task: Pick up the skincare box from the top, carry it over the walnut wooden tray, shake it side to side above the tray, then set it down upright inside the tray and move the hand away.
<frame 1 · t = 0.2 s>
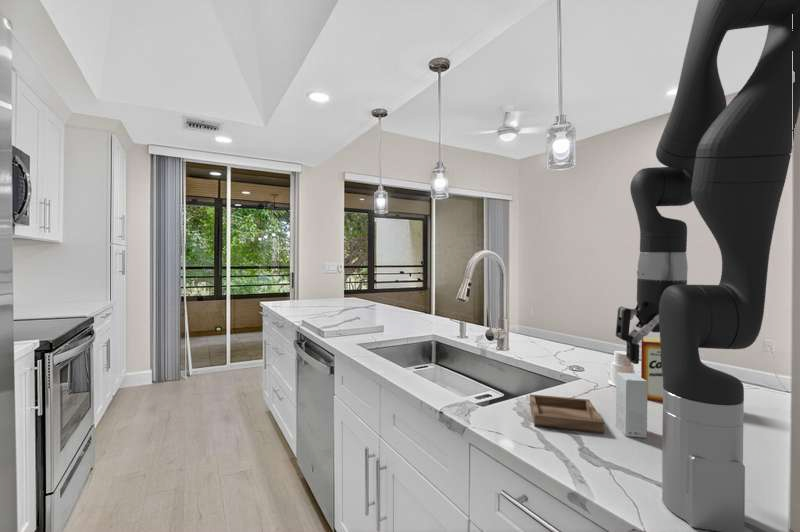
hand: (658, 363, 70), 18 cm above the worktop, tool pointing down, fingers open, 8 cm apart
tray: (563, 417, 89), on the worktop
downlight: (621, 385, 113), on the worktop
skincare box: (630, 432, 81), on the worktop
baking soda box: (661, 399, 102), on the worktop
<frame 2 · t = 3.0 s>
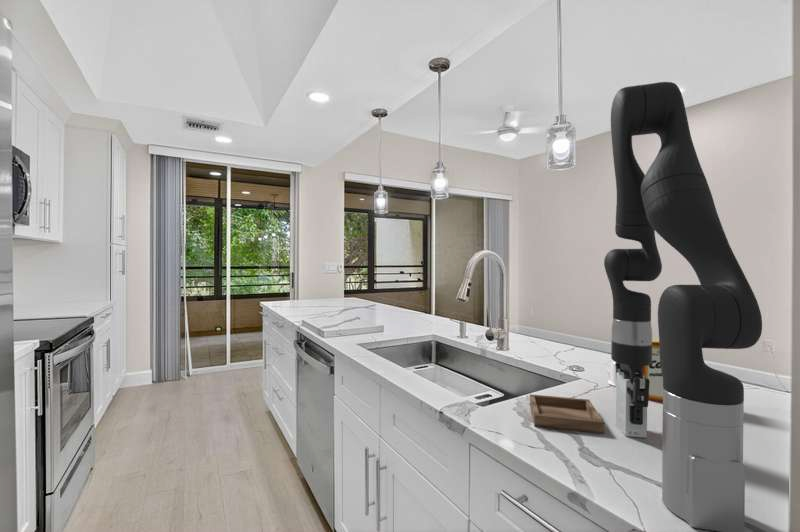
hand: (630, 417, 81), 3 cm above the worktop, tool pointing down, fingers closed on skincare box, 6 cm apart
skincare box: (630, 432, 81), on the worktop, touching gripper
everything else where it was.
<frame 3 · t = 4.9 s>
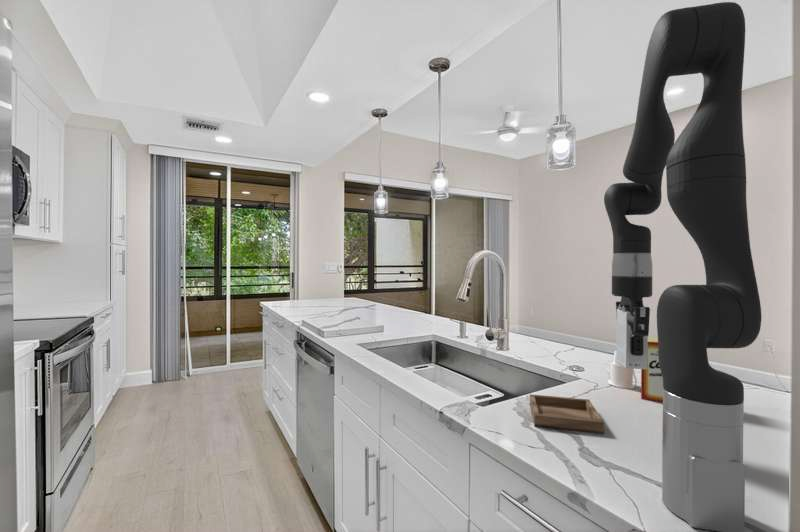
hand: (631, 351, 81), 17 cm above the worktop, tool pointing down, fingers closed on skincare box, 6 cm apart
skincare box: (631, 366, 81), point 14 cm above the worktop, touching gripper
everything else where it was.
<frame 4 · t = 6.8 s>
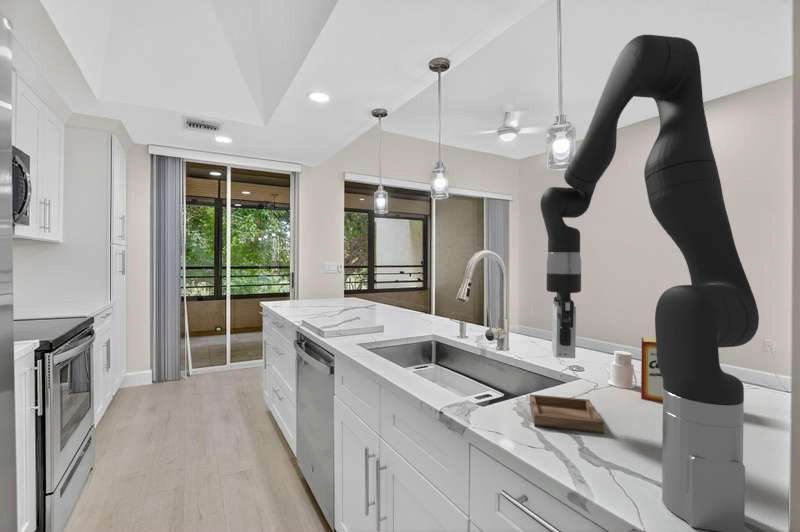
hand: (562, 342, 89), 18 cm above the worktop, tool pointing down, fingers closed on skincare box, 6 cm apart
skincare box: (563, 356, 89), point 14 cm above the worktop, touching gripper
everything else where it was.
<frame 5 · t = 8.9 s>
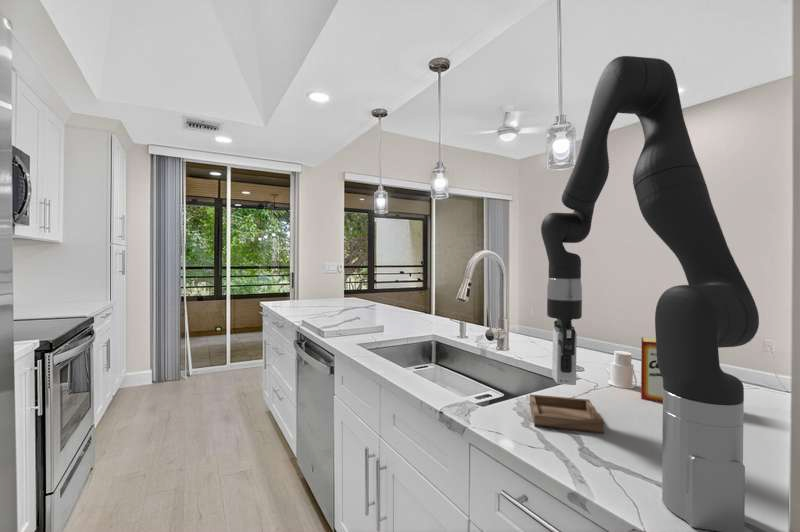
hand: (563, 368, 88), 12 cm above the worktop, tool pointing down, fingers closed on skincare box, 6 cm apart
skincare box: (563, 381, 89), point 8 cm above the worktop, touching gripper
everything else where it was.
when the fingers open (5 cm above the worktop, at t = 10.6 s): skincare box drops 1 cm, resting on tray.
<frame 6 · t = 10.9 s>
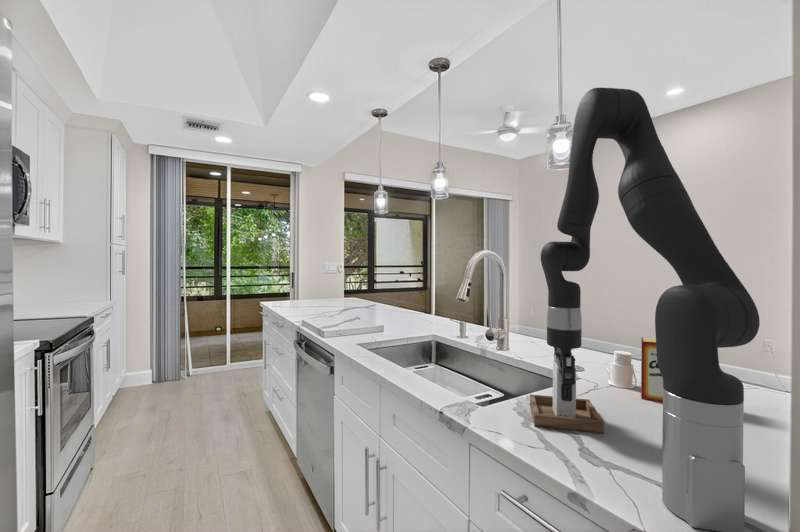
hand: (563, 394, 89), 5 cm above the worktop, tool pointing down, fingers open, 8 cm apart
skincare box: (563, 415, 89), resting on tray
everything else where it was.
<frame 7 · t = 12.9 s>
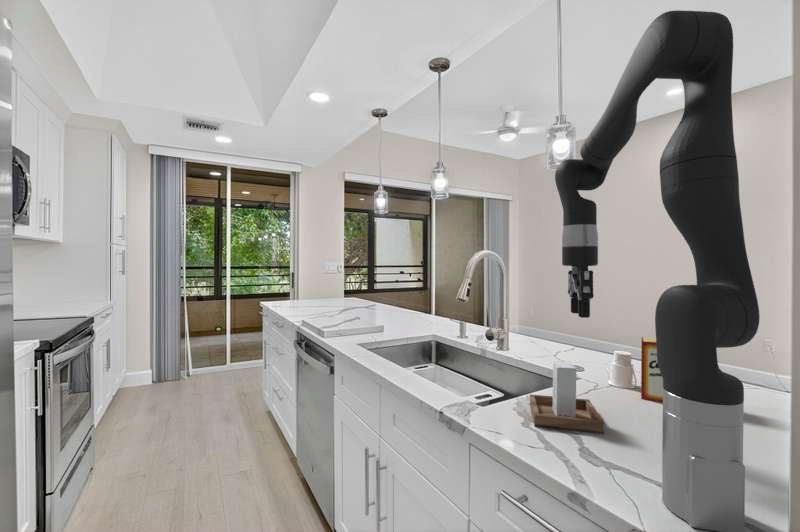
hand: (579, 315, 87), 24 cm above the worktop, tool pointing down, fingers open, 8 cm apart
nothing on the worktop moved.
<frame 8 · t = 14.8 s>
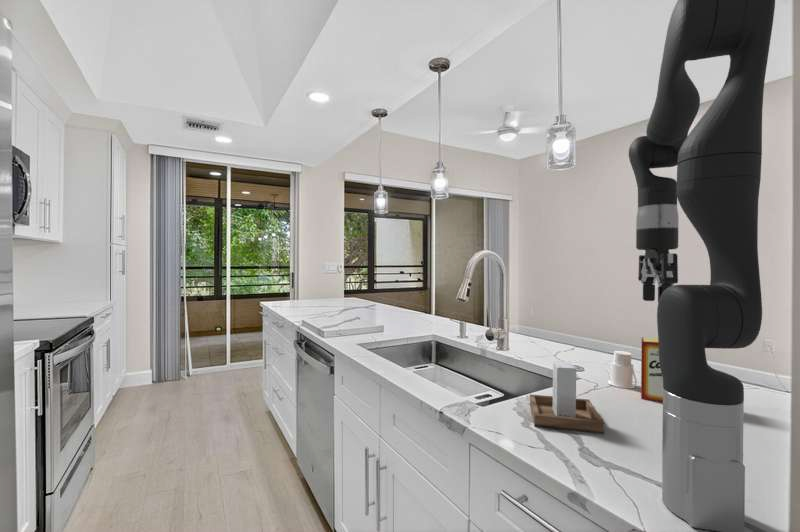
hand: (656, 302, 81), 28 cm above the worktop, tool pointing down, fingers open, 8 cm apart
nothing on the worktop moved.
at the end: skincare box inside the target area on the tray (0.2 cm from its centre), point 0.3 cm above the tray's base; skincare box tilted 0°; the gripper is holding nothing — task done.
